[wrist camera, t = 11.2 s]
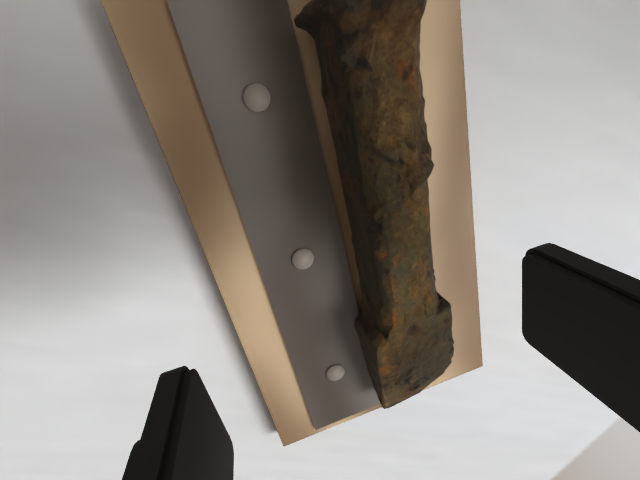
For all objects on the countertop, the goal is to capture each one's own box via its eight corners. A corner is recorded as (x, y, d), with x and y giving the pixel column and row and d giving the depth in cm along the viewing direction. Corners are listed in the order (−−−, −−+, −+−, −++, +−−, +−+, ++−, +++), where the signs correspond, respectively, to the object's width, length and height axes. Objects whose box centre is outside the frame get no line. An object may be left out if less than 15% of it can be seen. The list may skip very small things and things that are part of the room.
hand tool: (318, -33, 9) (470, -54, 10) (284, 12, 12) (397, -6, 13) (401, 457, 16) (483, 416, 17) (364, 395, 20) (434, 364, 21)
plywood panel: (440, -60, 14) (460, -76, 13) (472, 355, 22) (485, 369, 21) (109, 7, 12) (96, -5, 11) (281, 431, 20) (284, 451, 19)
